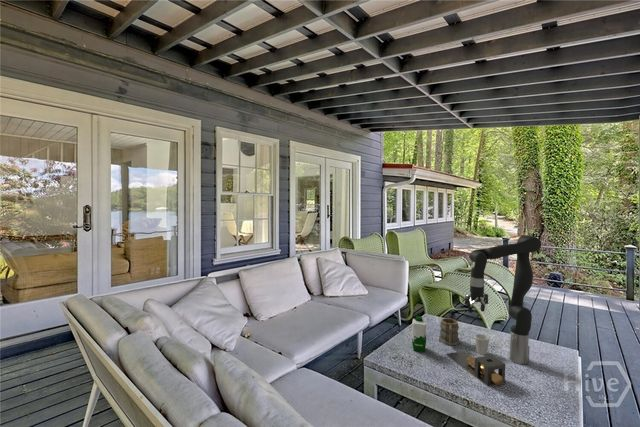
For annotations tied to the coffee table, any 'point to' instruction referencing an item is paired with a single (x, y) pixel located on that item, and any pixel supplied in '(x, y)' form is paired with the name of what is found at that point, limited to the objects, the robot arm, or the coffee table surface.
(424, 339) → the milk carton
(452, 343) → the tankard
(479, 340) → the dixie cup
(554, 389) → the coffee table surface
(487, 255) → the robot arm
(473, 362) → the tube
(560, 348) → the coffee table surface
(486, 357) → the dark grey holder
